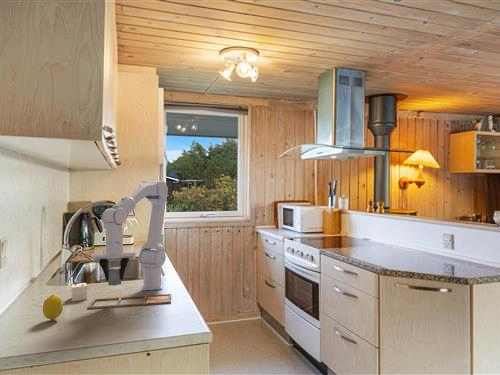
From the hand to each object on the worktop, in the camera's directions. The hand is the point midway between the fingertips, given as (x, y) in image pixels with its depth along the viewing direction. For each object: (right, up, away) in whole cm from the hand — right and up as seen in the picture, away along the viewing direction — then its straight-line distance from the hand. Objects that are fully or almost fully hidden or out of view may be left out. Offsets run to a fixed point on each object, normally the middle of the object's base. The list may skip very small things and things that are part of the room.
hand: (114, 279), depth 133 cm
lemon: (-13, -9, -17) cm, 23 cm away
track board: (+6, -8, +1) cm, 10 cm away
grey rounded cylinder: (0, -1, 0) cm, 1 cm away
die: (-16, -9, +6) cm, 19 cm away
